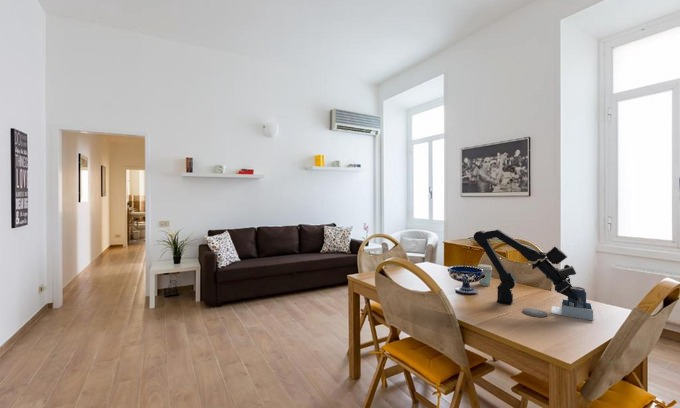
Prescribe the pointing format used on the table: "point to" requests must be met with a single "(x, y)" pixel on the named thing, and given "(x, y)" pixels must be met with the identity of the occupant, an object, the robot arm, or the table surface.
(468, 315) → the table surface
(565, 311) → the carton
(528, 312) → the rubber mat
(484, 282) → the coffee cup
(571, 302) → the soda can
